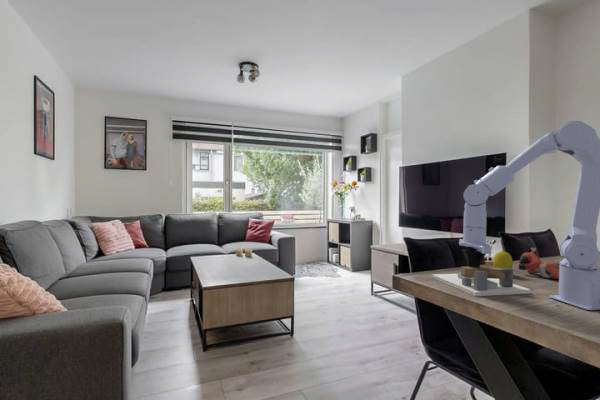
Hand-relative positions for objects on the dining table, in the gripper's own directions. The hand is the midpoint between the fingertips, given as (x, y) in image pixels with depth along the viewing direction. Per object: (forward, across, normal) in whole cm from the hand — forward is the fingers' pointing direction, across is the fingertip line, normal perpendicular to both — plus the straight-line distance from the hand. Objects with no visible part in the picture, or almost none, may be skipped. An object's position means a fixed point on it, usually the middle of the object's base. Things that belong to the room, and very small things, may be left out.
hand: (473, 274), depth 90 cm
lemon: (+4, -17, +18) cm, 25 cm away
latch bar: (+2, +2, +3) cm, 4 cm away
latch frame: (+3, -2, +2) cm, 5 cm away
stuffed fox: (+4, -16, +30) cm, 34 cm away
